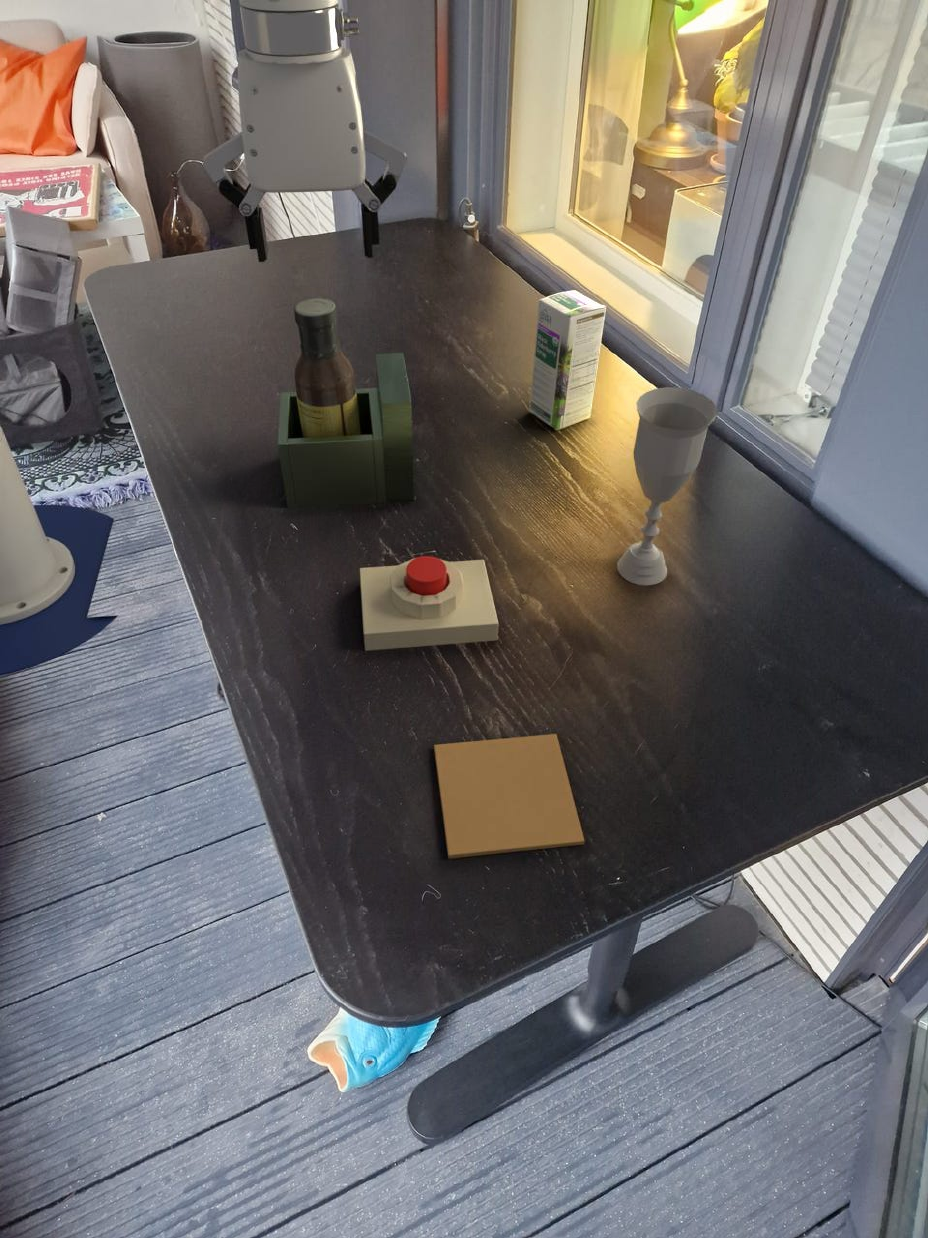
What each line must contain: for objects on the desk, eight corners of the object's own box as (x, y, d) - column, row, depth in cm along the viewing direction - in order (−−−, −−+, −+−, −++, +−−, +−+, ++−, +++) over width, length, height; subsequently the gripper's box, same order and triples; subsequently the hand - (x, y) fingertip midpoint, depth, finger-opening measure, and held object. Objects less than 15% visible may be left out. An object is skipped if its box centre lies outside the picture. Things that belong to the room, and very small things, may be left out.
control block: (365, 651, 76) (362, 618, 73) (360, 584, 82) (358, 552, 80) (497, 640, 77) (499, 608, 75) (483, 576, 84) (484, 544, 81)
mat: (448, 859, 61) (448, 855, 61) (434, 748, 68) (434, 744, 68) (583, 844, 62) (584, 841, 62) (555, 737, 69) (556, 733, 69)
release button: (408, 597, 76) (408, 583, 75) (405, 571, 78) (404, 557, 77) (448, 595, 76) (448, 580, 75) (444, 569, 79) (444, 554, 78)
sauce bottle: (348, 456, 99) (333, 286, 85) (374, 482, 95) (363, 309, 81) (298, 472, 96) (274, 299, 82) (322, 500, 92) (302, 324, 78)
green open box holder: (287, 508, 91) (272, 408, 83) (289, 454, 99) (275, 357, 90) (413, 501, 93) (411, 402, 84) (406, 448, 100) (403, 352, 92)
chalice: (659, 601, 82) (699, 439, 69) (595, 576, 84) (622, 414, 72) (687, 560, 86) (729, 400, 74) (625, 537, 89) (656, 379, 76)
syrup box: (527, 411, 107) (536, 298, 97) (563, 398, 109) (575, 286, 99) (556, 432, 103) (568, 316, 93) (592, 418, 106) (608, 304, 96)
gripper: (399, 22, 70) (406, 236, 82) (184, 24, 68) (223, 242, 80) (406, 40, 65) (413, 266, 77) (173, 43, 63) (217, 274, 75)
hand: (316, 254), depth 79 cm, fingers open, 9 cm apart
